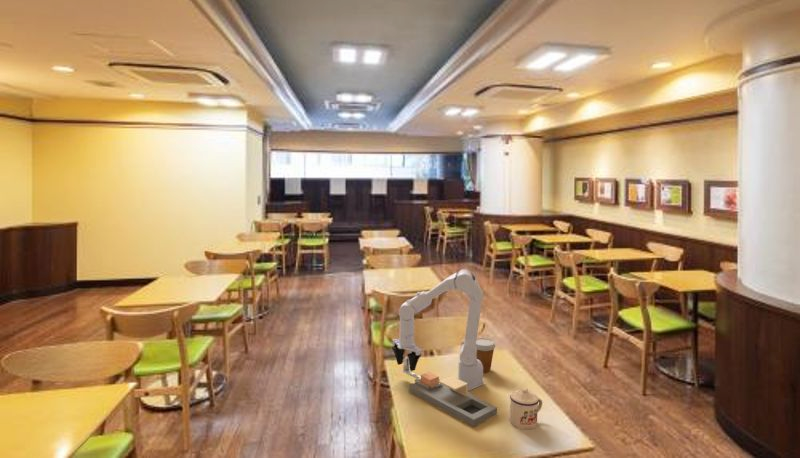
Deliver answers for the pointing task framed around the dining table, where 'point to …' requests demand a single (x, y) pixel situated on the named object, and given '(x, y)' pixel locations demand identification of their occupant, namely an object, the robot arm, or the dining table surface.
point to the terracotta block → (429, 378)
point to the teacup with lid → (524, 408)
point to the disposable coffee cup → (485, 352)
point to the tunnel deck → (456, 400)
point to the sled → (418, 378)
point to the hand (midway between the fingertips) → (406, 367)
